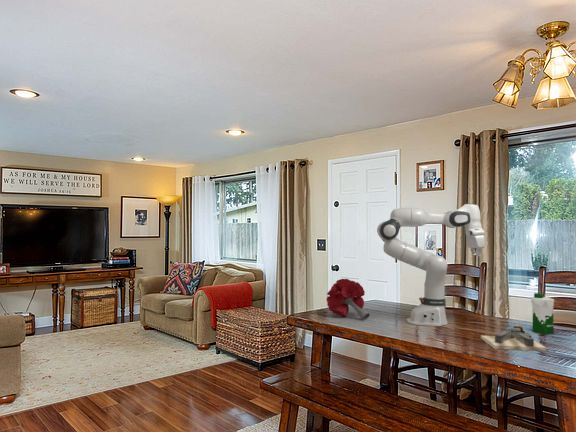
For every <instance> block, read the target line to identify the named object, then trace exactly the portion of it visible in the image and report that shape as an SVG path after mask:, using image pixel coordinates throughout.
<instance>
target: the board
mask: <svg viewBox="0 0 576 432" xmlns="http://www.w3.org/2000/svg"><path fill="white" fill-rule="evenodd" d="M480 339H481V340H482V341H483V342H484V343H486V344H487V345H489V346H490V347H491V348H493V349H494V350H495V349H496V350H497V349H498V350H511V351H512V350H515V351H533V352H534V351H538V352H539V351H540V352H547V351H548V349H547V347H546V345H545V346H544V345H542V344H541V343H540V342H538V341H536V340H534V346H527V345H525V344H524V343H522V342H521V341H519V340H517V339H516V337H515V338H509V339H507V340H505V341H503V342H502V343H499V342H495V335H480Z"/></svg>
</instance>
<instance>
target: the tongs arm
mask: <svg viewBox="0 0 576 432" xmlns="http://www.w3.org/2000/svg"><path fill="white" fill-rule="evenodd" d="M494 336H495V342H499V343H502V342H503V341H505V340H507V339H509V338H510V331H508V330H504V331H501V332H500V333H497V334H495V335H494Z"/></svg>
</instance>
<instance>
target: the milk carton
mask: <svg viewBox="0 0 576 432" xmlns="http://www.w3.org/2000/svg"><path fill="white" fill-rule="evenodd" d="M533 294H534V295H533V297H531V298H530V300H531V304H532V305H531V306H532V327H531V328H532V330H531V332H533V333H535V334H536V333H537V334H540V333H541V334H542V335H551V334H554V333H555V332H554V331H555V327H554V304H555V299H554V298H550V297H544V294H543V293H538V292H537V293H536V292H534V293H533ZM541 334H540V335H541Z"/></svg>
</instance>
